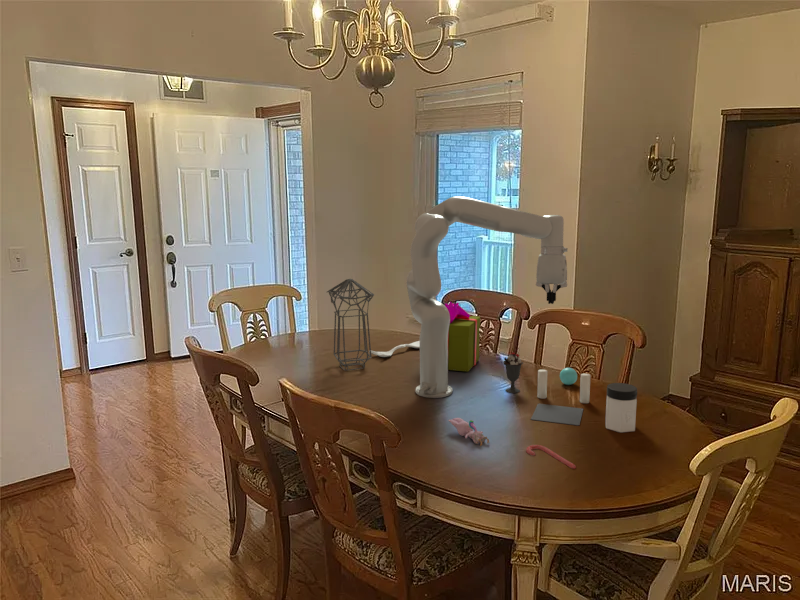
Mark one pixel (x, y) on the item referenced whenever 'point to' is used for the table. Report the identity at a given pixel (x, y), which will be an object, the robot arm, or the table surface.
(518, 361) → the sundae
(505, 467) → the table surface
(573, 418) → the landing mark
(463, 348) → the gift box
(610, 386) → the jar
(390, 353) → the spoon
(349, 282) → the geometric lantern
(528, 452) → the candy cane
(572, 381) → the ball
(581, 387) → the right post
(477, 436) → the pink elongated figure
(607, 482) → the table surface
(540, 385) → the left post
